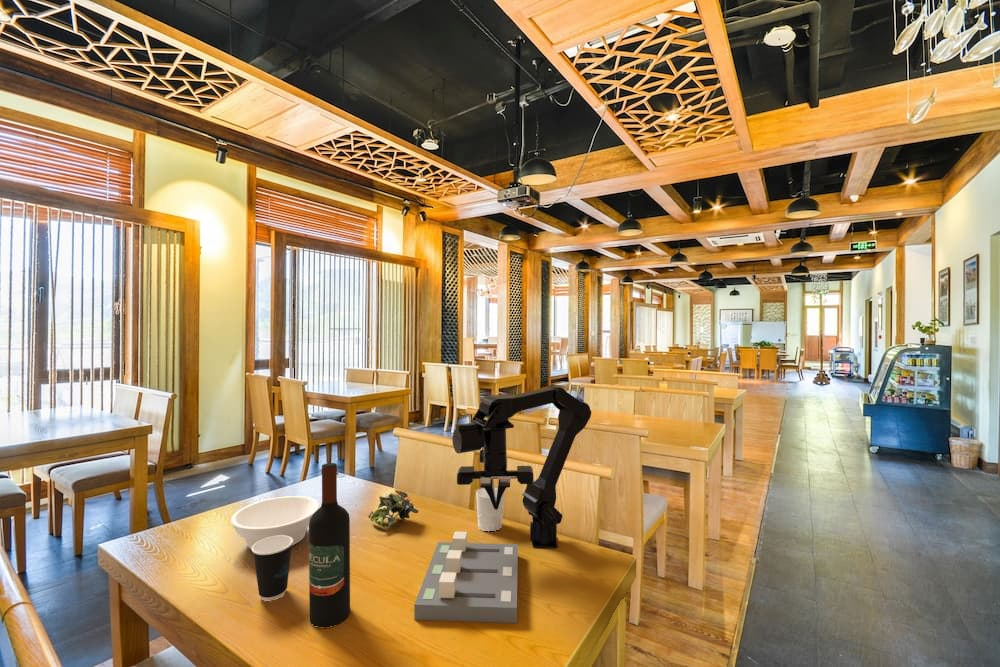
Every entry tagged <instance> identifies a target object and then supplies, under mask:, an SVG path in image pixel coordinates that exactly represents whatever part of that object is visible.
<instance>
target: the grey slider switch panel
mask: <svg viewBox="0 0 1000 667" xmlns="http://www.w3.org/2000/svg"><path fill="white" fill-rule="evenodd" d="M518 548H519V545H518V543H491V542H490V543H489V542H488V543H487V542H486V543H484V542H483V543H482V542H467V547H466V551H465V552H462V566H461V570H460V573H456V592H455V596H454V598H439V580H440V577H441V574H442V572H446V557H447V554H448V551H449V550H453V541H451V542H448V541H446V542H445V541H438V542H437V545H436V547H435V549H434V551H433V552H434V553H433V555H432V558H431V560H430V562H429V565H428V568H427V571H426V573H425V575H424V578H423V581H422V584H421V586H420V589H419V592H418V593H417V597H416V599H415V602H414V605H413V606H414V608H413V610H414V614H413V615H414V617H413V619H414V621H415V620H416V621H436V622H437V621H439V622H443V621H444V622H467V623H473V622H474V623H495V624H496V623H498V624H499V623H502V624H517V623H518V572H519V571H518V568H519V566H518V564H519V560H518V557H519V556H518V555H519V550H518Z"/></svg>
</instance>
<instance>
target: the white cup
mask: <svg viewBox="0 0 1000 667" xmlns="http://www.w3.org/2000/svg"><path fill="white" fill-rule="evenodd" d="M497 490H498V487H494V491H495V498H496V499H497ZM475 494H476V496H475V497H476V515H477V528H478V527H479V528H478V529H479V530H480V529H481V530H480V531H482V532H484V531H488V532H487V533H490V532H489V531H495V532H497V531H496V530H499V529H500V528H501V529H502V525H503V516H504V499H505V498H504V497H505V492H504V493H503V495H502V498H501V501H500V504H499V507H498V510H495V509H494V507H493V505H492V502H491V499H490V497H489V495H488V493H487V492H486V490H485V488H479V489H478V490H476V492H475ZM501 529H500V530H501ZM500 530H499V531H500Z"/></svg>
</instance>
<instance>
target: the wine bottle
mask: <svg viewBox="0 0 1000 667" xmlns="http://www.w3.org/2000/svg"><path fill="white" fill-rule="evenodd" d="M320 471H321V472H320V473H321V474H320V475H321V505H320V506H319V509H318V510H317V511H316V512H315V513H314V514H313V515H312V517H311V518H310V521H309V526H308V573H309V574H308V577H309V579H308V580H309V581H308V584H309V585H308V587H309V589H308V590H309V592H308V593H309V596H308V597H309V598H308V599H309V607H308V609H309V610H308V611H309V623H310V622H311V623H310V625H311V624H313V625H314V626H318V627H329V628H331V627H330V626H333V627H335V626H334V625H336V626H339V625H340V624H341V622H342V623H343V622H345V621H346V620H347V619H348V618H349V616H350V615H351V548H350V547H351V544H350V543H351V538H350V537H351V536H350V535H351V534H350V533H351V531H350V528H351V525H350V522H351V521H350V514H349V512H348V511H347V510H346V509H345V507H343V506H341V505H340V504H338V500H337V497H338V492H337V491H338V490H337V489H338V488H337V487H338V479H337V476H338V475H337V474H338V466H337V463H335V462H327V463H323V464H321V470H320ZM313 625H312V626H313ZM314 626H313V627H314Z"/></svg>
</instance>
